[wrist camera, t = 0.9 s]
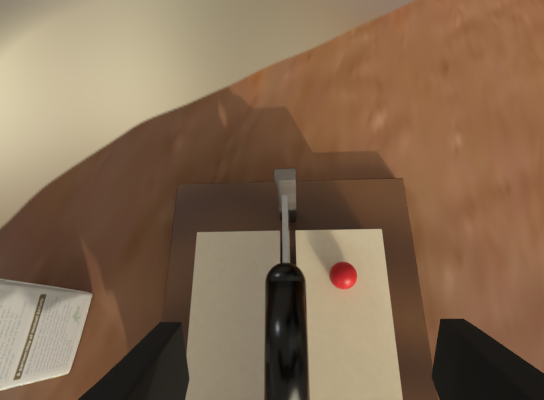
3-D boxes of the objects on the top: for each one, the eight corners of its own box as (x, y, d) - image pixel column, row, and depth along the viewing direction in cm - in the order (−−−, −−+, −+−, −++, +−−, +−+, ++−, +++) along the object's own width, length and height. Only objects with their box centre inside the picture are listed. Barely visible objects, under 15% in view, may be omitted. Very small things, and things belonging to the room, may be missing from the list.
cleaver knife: (311, 521, 16) (319, 639, 10) (273, 519, 16) (259, 635, 10) (301, 221, 21) (302, 181, 15) (273, 221, 21) (264, 182, 15)
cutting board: (460, 585, 18) (591, 796, 10) (140, 568, 19) (27, 743, 11) (399, 182, 26) (443, 122, 18) (181, 188, 28) (134, 134, 20)
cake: (397, 478, 19) (428, 526, 14) (193, 471, 20) (162, 515, 15) (371, 241, 24) (387, 221, 19) (209, 243, 25) (189, 225, 20)
